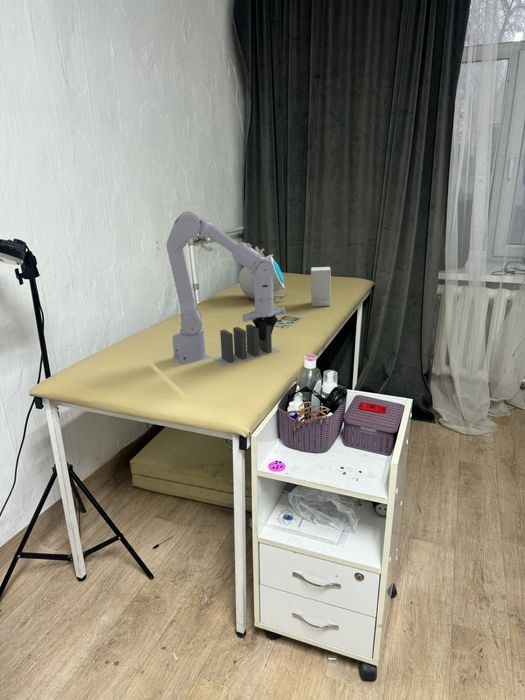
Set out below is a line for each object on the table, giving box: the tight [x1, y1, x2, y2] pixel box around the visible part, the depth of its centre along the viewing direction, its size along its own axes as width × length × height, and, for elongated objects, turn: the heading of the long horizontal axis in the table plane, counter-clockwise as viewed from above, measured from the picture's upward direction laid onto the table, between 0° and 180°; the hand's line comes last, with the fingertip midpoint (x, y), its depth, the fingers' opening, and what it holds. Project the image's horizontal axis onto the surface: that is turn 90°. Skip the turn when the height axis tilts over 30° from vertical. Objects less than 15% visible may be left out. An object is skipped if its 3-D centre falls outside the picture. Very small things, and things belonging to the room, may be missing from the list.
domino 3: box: [245, 323, 259, 357], centre depth 150 cm, size 2×5×9 cm, turn 31°
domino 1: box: [219, 329, 235, 363], centre depth 145 cm, size 2×5×9 cm, turn 31°
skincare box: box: [310, 266, 332, 307], centre depth 202 cm, size 8×7×16 cm
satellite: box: [238, 245, 288, 304], centre depth 213 cm, size 23×20×25 cm
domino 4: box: [259, 323, 273, 354], centre depth 152 cm, size 2×5×9 cm, turn 32°
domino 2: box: [232, 326, 247, 360], centre depth 148 cm, size 2×5×9 cm, turn 31°
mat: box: [212, 346, 282, 367], centre depth 150 cm, size 21×7×1 cm, turn 121°
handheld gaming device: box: [274, 313, 306, 328], centre depth 184 cm, size 9×1×15 cm
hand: (265, 339), depth 152 cm, fingers closed on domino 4, 2 cm apart
